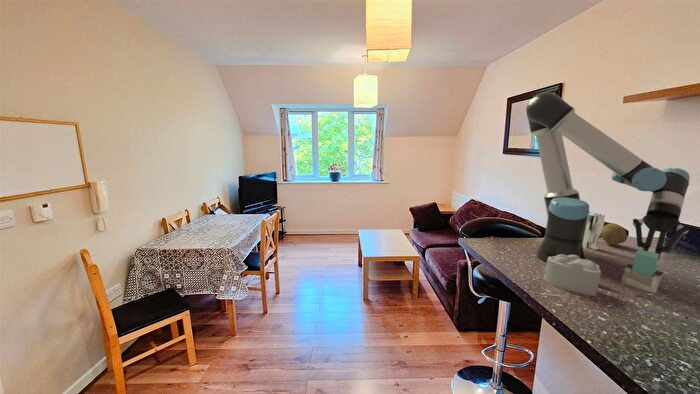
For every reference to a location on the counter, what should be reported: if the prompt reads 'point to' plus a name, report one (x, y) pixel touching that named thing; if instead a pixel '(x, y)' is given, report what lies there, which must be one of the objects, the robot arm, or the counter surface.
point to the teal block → (645, 262)
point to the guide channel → (641, 279)
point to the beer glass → (593, 230)
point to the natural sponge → (613, 234)
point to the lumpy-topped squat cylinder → (573, 273)
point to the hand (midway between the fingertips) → (647, 267)
